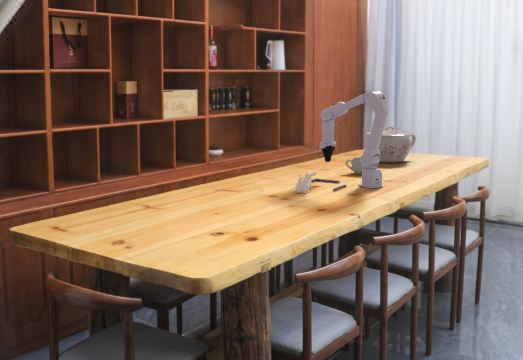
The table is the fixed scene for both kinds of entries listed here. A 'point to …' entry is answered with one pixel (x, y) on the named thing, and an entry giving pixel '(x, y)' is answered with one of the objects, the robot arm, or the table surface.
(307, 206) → the table surface
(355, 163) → the teacup
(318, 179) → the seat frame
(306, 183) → the white figurine
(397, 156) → the chamber pot
